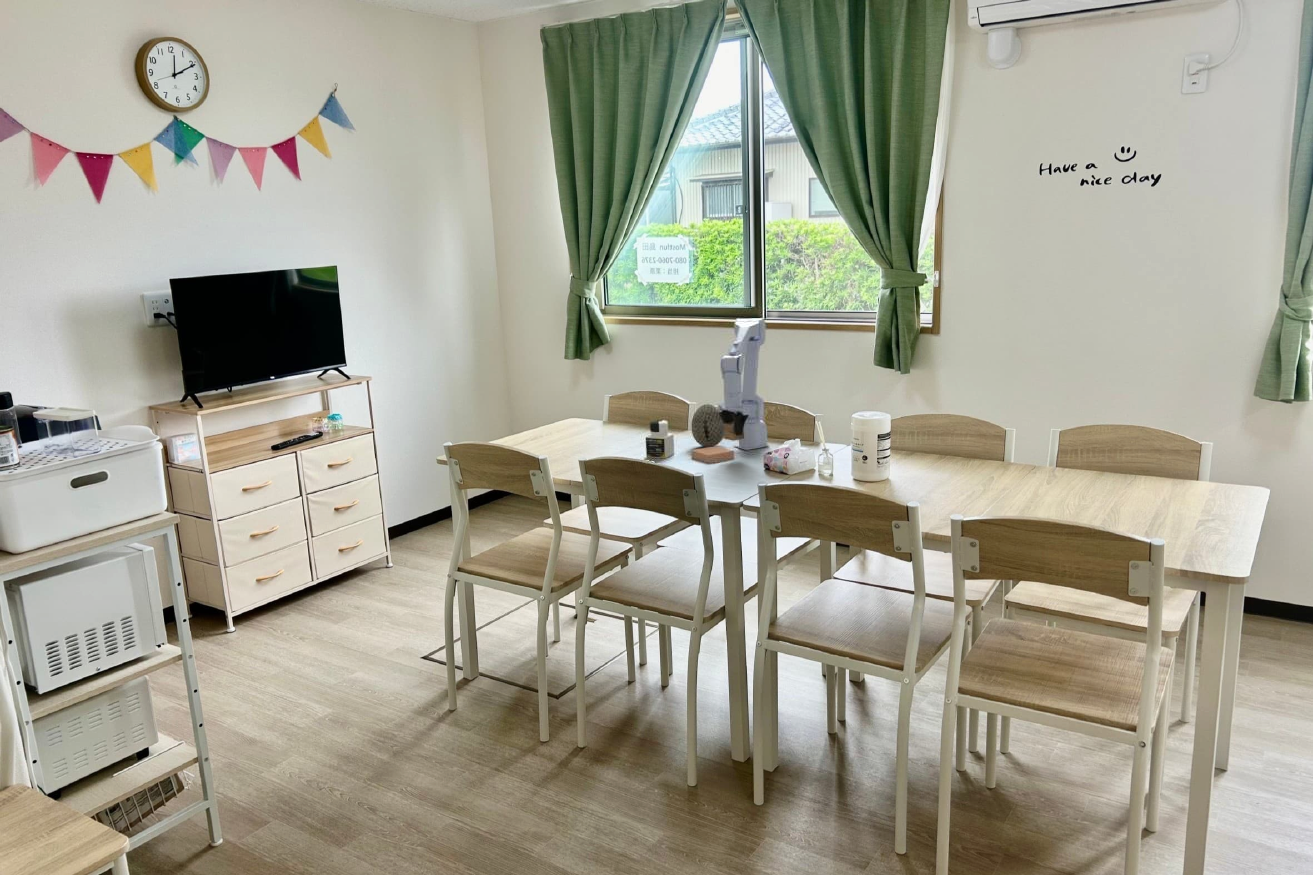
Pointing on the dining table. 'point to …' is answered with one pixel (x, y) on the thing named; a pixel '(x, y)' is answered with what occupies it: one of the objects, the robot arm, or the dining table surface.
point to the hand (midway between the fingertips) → (734, 433)
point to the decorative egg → (707, 426)
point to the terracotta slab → (712, 454)
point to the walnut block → (731, 432)
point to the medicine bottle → (659, 440)
